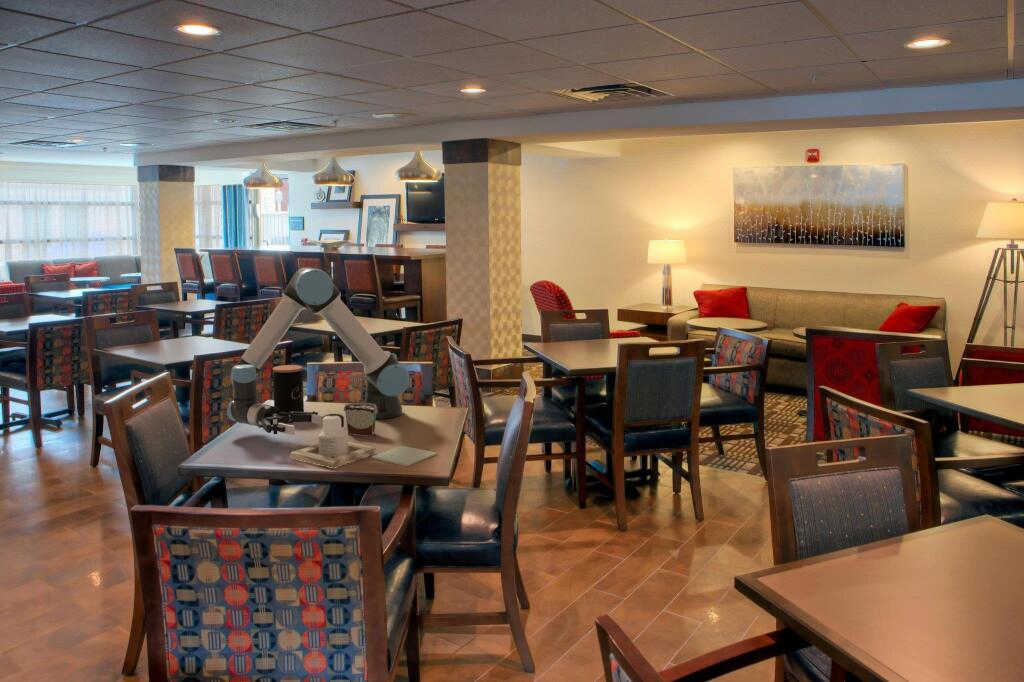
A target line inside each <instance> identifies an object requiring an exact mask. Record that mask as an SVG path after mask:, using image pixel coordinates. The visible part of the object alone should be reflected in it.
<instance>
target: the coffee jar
mask: <svg viewBox="0 0 1024 682" xmlns="http://www.w3.org/2000/svg"><path fill="white" fill-rule="evenodd" d="M302 370H303V366H302V365H297V364H287V365H286V364H284V365H277V366H273V367H272V372H273V374H272V385H273V390H272V391H273V406H275V407H277V408H279V410H280V411H281V412H285V413H289V411H296V412H305V406H304V405H305V404H304V401H305V400H304V376H303V375H304V374H303V372H302Z"/></svg>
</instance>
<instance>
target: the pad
mask: <svg viewBox="0 0 1024 682" xmlns="http://www.w3.org/2000/svg"><path fill="white" fill-rule="evenodd" d="M437 455H438V453H437V452H434V451H431V450H425V449H420V448H416V447H415V448H414V447H411V446H406V445H399V446H397V447H394V448H392V449H388V450H387V451H386V450H385V451H383V452H380V453H378V454H377V453H376V454H375V455H372V456H371V459H373V458H374V459H373V460H377V459H378V461H382V462H387V463H391V464H396V465H400V466H403V467H404V466H405V467H408V466H411V465H414V464H416V463H419V462H422V461H424V460H427V459H429V458H432V457H434V456H437Z"/></svg>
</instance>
